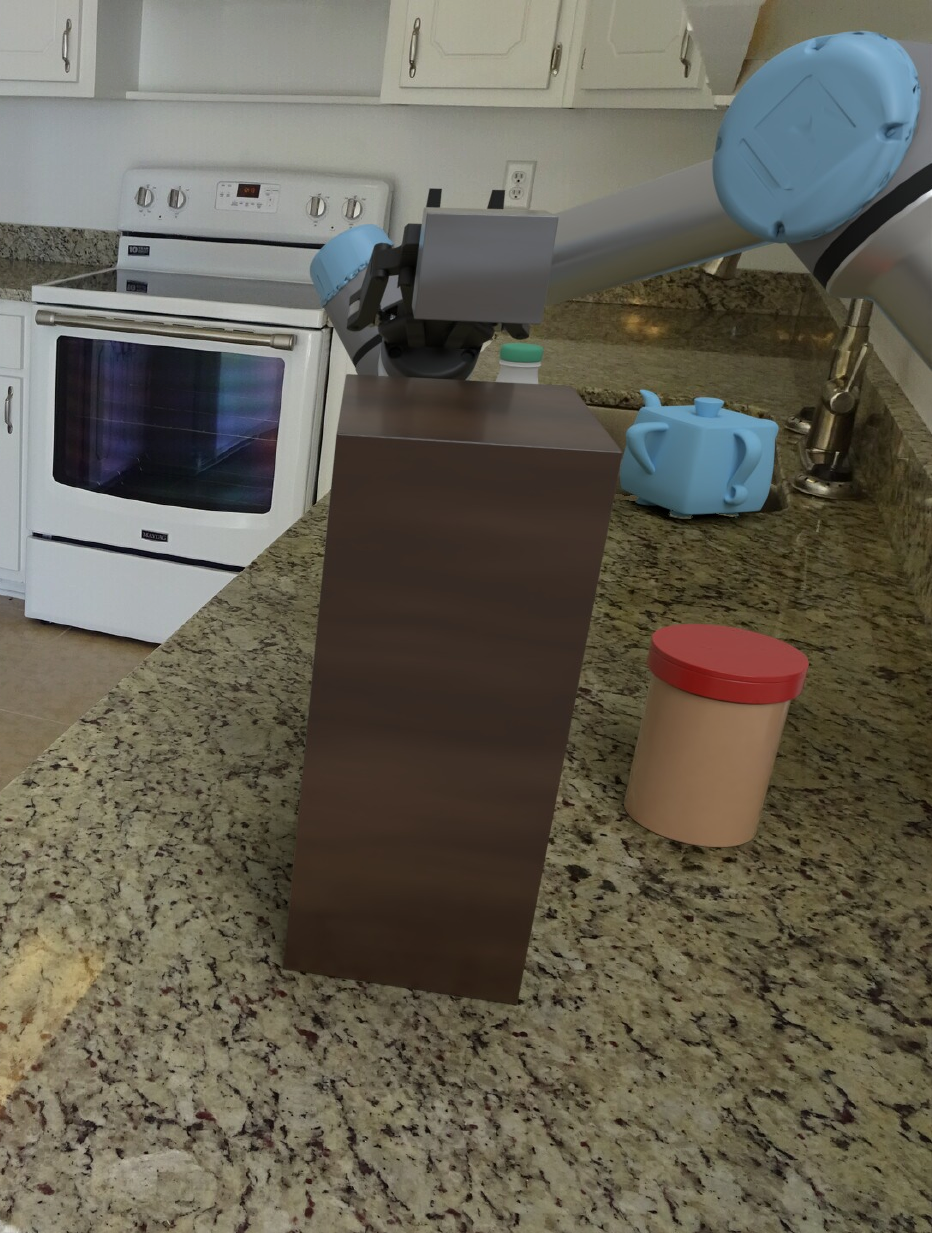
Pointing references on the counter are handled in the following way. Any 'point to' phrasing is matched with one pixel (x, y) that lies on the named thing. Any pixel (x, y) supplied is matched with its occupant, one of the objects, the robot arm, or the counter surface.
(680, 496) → the teapot
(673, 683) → the lid
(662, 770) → the jam jar
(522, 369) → the milk bottle
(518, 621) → the stand
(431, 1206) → the counter surface
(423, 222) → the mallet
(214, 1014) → the counter surface
